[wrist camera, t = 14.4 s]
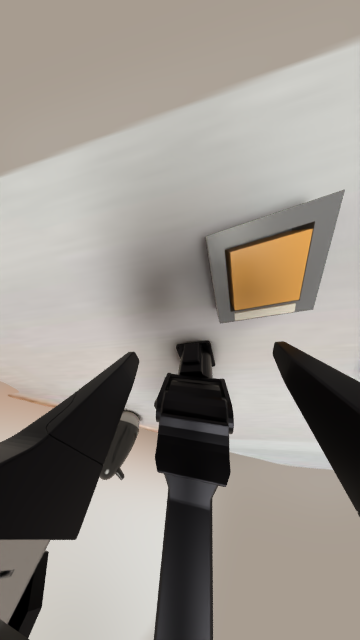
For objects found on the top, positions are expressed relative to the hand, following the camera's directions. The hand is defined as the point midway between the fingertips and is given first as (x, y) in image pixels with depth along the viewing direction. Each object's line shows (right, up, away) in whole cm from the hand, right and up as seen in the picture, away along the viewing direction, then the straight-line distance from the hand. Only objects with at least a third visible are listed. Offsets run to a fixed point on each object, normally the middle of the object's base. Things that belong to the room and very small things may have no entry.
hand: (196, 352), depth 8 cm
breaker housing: (+8, +9, +7) cm, 14 cm away
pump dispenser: (-20, -33, +39) cm, 54 cm away
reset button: (+8, +8, +7) cm, 13 cm away
